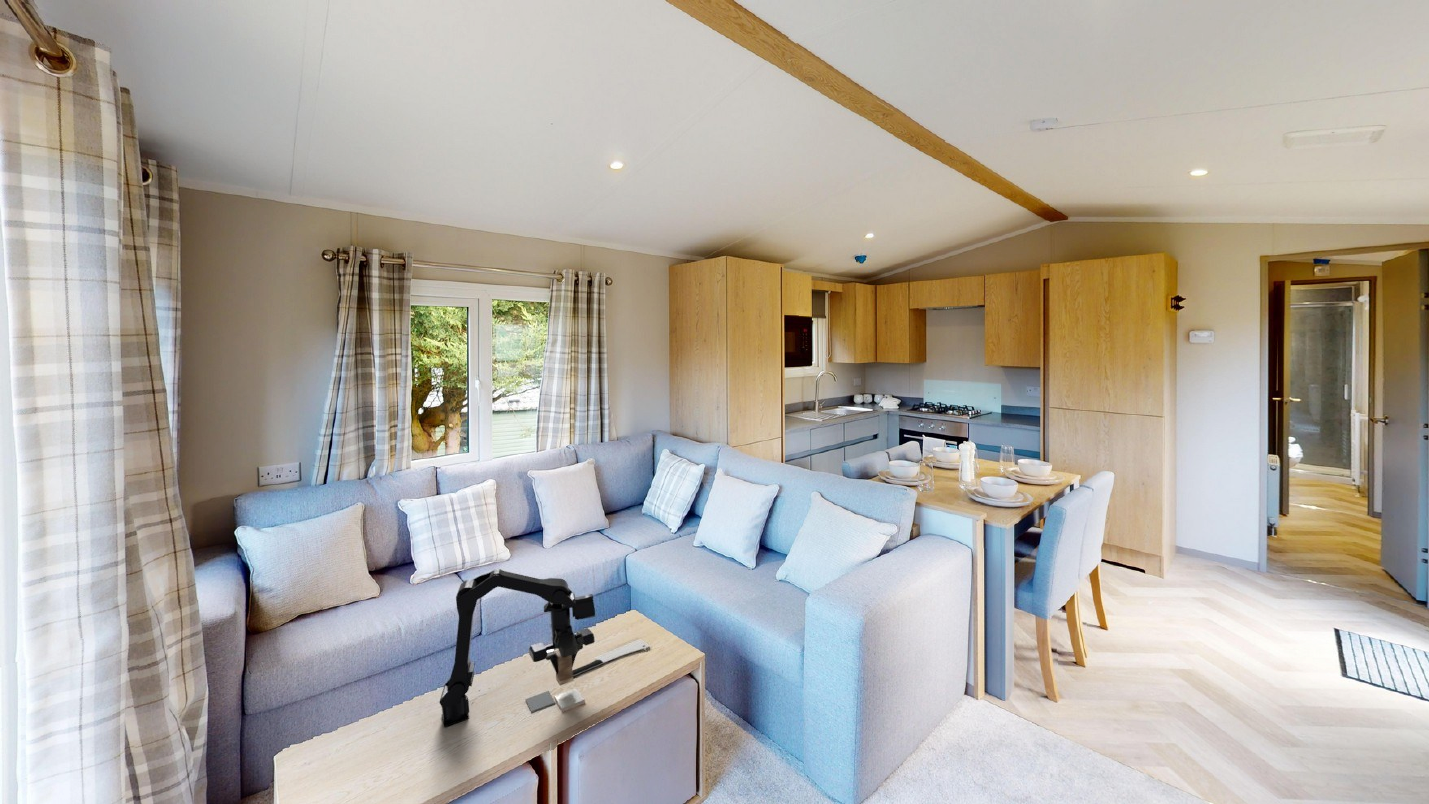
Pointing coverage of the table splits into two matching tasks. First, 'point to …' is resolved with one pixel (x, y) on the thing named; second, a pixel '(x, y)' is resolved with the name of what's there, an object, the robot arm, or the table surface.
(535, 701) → the pad
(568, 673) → the wooden post stub
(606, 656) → the kitchen cleaver
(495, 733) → the table surface
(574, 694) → the tile
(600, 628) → the table surface
